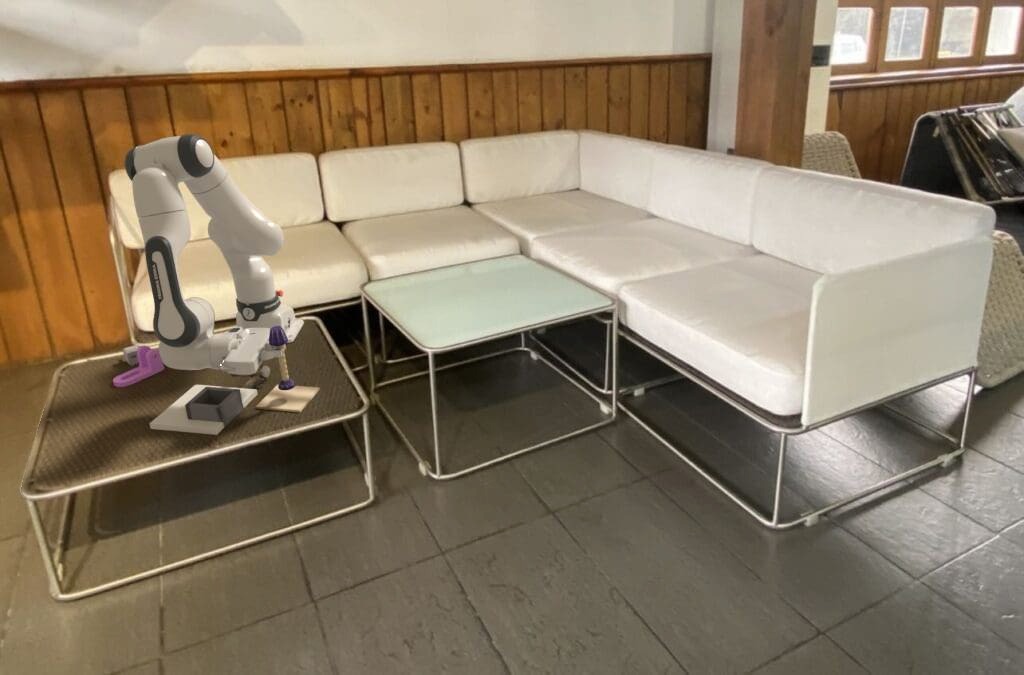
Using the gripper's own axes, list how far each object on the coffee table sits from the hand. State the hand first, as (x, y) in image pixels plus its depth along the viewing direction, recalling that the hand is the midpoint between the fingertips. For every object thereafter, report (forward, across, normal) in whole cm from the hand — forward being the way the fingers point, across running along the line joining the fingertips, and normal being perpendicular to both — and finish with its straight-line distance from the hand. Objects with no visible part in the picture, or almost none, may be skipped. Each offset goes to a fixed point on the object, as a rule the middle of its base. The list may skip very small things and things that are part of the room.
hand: (283, 349), depth 188 cm
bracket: (-46, +16, +15) cm, 51 cm away
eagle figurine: (-12, +9, +14) cm, 21 cm away
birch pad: (-1, 0, +14) cm, 14 cm away
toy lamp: (-1, 0, +11) cm, 11 cm away
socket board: (-20, -5, +14) cm, 25 cm away
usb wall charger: (-52, +27, +15) cm, 60 cm away
